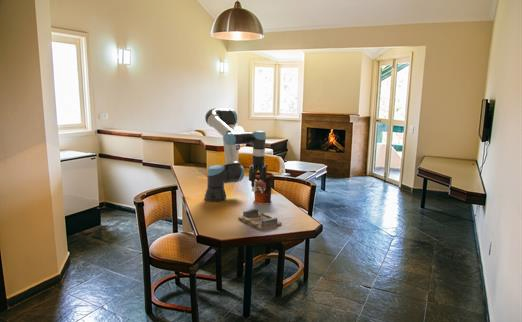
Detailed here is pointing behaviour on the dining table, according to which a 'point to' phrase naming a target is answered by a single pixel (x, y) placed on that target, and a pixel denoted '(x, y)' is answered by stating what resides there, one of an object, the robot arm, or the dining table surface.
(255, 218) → the chassis bay
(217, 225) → the dining table surface
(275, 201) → the dining table surface
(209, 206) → the dining table surface
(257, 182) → the bull figurine
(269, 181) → the vessel
